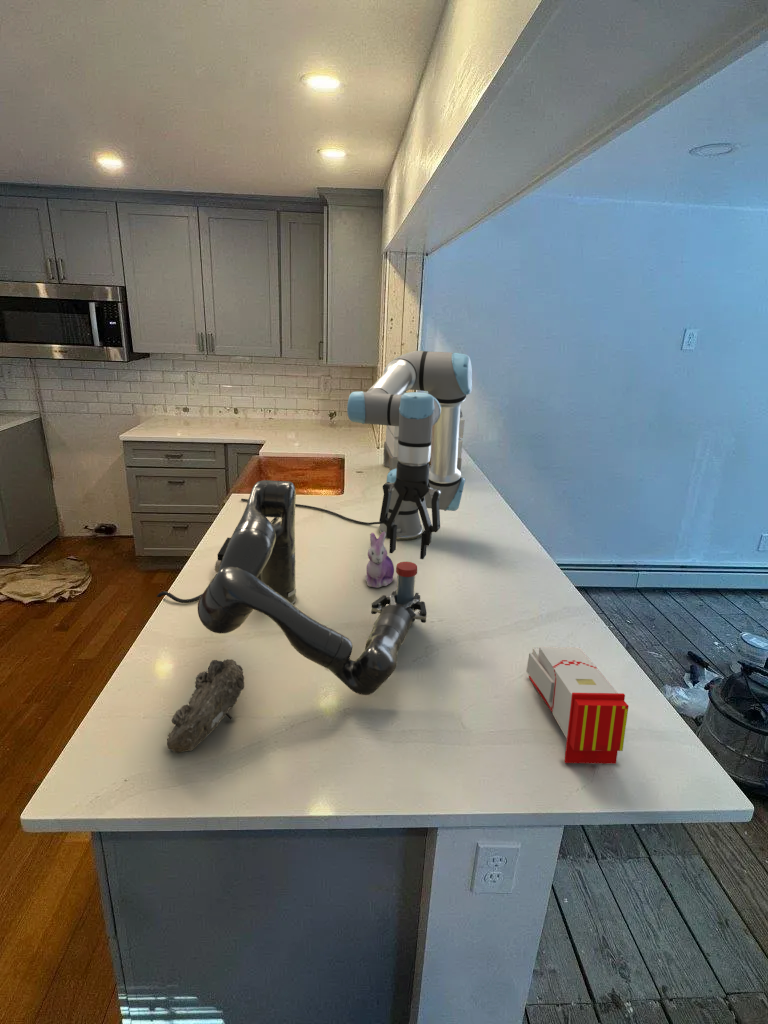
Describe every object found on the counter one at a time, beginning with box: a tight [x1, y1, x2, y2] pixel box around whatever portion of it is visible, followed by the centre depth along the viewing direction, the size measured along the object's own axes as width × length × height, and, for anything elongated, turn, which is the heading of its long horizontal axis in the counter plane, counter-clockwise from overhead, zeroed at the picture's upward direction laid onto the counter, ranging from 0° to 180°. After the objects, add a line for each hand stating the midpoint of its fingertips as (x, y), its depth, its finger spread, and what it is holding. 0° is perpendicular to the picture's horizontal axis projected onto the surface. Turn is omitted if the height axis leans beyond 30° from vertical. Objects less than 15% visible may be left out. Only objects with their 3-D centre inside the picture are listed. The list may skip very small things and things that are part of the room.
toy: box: [526, 646, 629, 765], centre depth 112 cm, size 12×13×30 cm
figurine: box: [365, 532, 395, 589], centre depth 162 cm, size 9×10×15 cm
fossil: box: [166, 658, 245, 754], centre depth 106 cm, size 22×10×15 cm
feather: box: [270, 517, 278, 525], centre depth 212 cm, size 2×28×2 cm
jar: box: [395, 573, 416, 627], centre depth 141 cm, size 4×4×15 cm
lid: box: [395, 561, 418, 577], centre depth 139 cm, size 5×5×2 cm
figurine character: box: [214, 537, 231, 573], centre depth 166 cm, size 7×8×15 cm
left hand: (407, 594), depth 144 cm, fingers closed on jar, 4 cm apart
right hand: (407, 553), depth 137 cm, fingers open, 7 cm apart
